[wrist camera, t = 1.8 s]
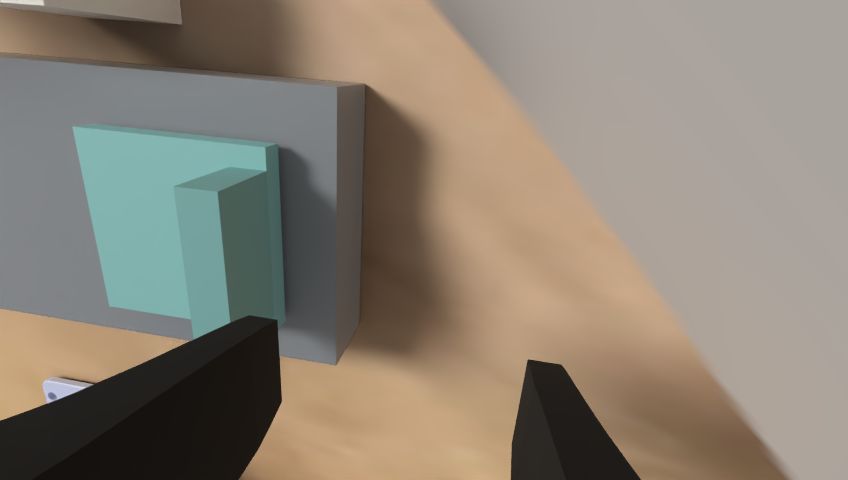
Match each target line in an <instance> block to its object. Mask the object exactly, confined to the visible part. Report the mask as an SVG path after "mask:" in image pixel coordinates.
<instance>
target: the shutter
mask: <svg viewBox="0 0 848 480" xmlns="http://www.w3.org/2000/svg"><path fill="white" fill-rule="evenodd" d="M72 128H73V133H74V137H75V142H76V147H77V152H78V157H79V162H80V166H81V171H82V176H83V181H84V186H85V191H86V195H87V200H88V205H89V210H90V215H91V220H92V224H93V229H94V234H95V239H96V244H97V249H98V253H99V258H100V263H101V268H102V273H103V278H104V282H105V287H106V292H107V297H108V302H109V306H111V307H118V308H124V309H130V310H136V311H142V312H148V313H154V314H161V315H167V316H173V317H179V318H185V319H191V323H192V331H193V338H194V339H196V338H198V337H200V336H202V335H204V334H207V333H209V332H211V331H213V330H215V329H217V328H220V327H222V326H224V325H226V324H228V323H231V322H233V321H235V320H238V319H240V318H243V317H246V316H248V315H251V316H258V317H264V318H270V319H276V320H278V330H279V328H280V327H281V326H282V325H283V324H284V323H285V321H286V318H285V295H284V273H283V250H282V227H281V205H280V182H279V160H278V143H270V142H260V141H251V140H242V139H232V138H223V137H214V136H204V135H195V134H185V133H176V132H167V131H157V130H148V129H139V128H129V127H120V126H110V125H101V124H88V125H80V126H73V127H72Z"/></svg>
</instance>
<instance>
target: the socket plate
mask: <svg viewBox="0 0 848 480" xmlns="http://www.w3.org/2000/svg"><path fill="white" fill-rule="evenodd" d="M365 85H366V84H361V83H349V82H338V81H326V80H315V79H303V78H292V77H280V76H269V75H257V74H246V73H234V72H223V71H211V70H200V69H188V68H177V67H165V66H154V65H142V64H131V63H119V62H107V61H96V60H84V59H73V58H61V57H50V56H38V55H27V54H15V53H4V52H0V309H6V310H12V311H18V312H24V313H30V314H36V315H42V316H47V317H53V318H59V319H65V320H71V321H77V322H83V323H89V324H95V325H101V326H106V327H112V328H118V329H124V330H130V331H136V332H142V333H148V334H154V335H160V336H166V337H171V338H177V339H183V340H189V341H192V340H194V338H193V331H192V323H191V319H185V318H179V317H173V316H167V315H161V314H154V313H148V312H142V311H136V310H130V309H124V308H118V307H111V306H109V302H108V297H107V292H106V287H105V282H104V278H103V273H102V268H101V263H100V258H99V253H98V249H97V244H96V239H95V234H94V229H93V224H92V220H91V215H90V210H89V205H88V200H87V195H86V191H85V186H84V181H83V176H82V171H81V166H80V162H79V157H78V152H77V147H76V142H75V137H74V133H73V128H72V127H73V126H80V125H88V124H101V125H110V126H120V127H129V128H139V129H148V130H157V131H167V132H176V133H185V134H195V135H204V136H214V137H223V138H232V139H242V140H251V141H260V142H270V143H278V160H279V182H280V205H281V227H282V250H283V273H284V295H285V318H286V321H285V323H284V324H283V325H282V326H281V327H280V328H279V330H278V339H279V356H284V357H289V358H295V359H301V360H307V361H313V362H319V363H325V364H331V365H337V363H338V361H339V359H340V358H341V356H342V354H343V352H344V350H345V349H346V347H347V345H348V343H349V342H350V340H351V338H352V336H353V335H354V333H355V331H356V329H357V328H358V326H359V324H360V284H361V244H362V205H363V165H364V125H365Z"/></svg>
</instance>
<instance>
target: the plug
mask: <svg viewBox="0 0 848 480" xmlns="http://www.w3.org/2000/svg"><path fill="white" fill-rule="evenodd" d="M0 7H4V8H12V9H20V10H28V11H37V12H45V13H53V14H61V15H69V16H77V17H85V18H98V19H112V20H125V21H139V22H153V23H166V24H180V25H182V17H181V8H180V0H0Z"/></svg>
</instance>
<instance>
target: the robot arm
mask: <svg viewBox="0 0 848 480" xmlns="http://www.w3.org/2000/svg"><path fill="white" fill-rule="evenodd" d="M43 390H44V393H45V397H46V400H47V404H45V405H42V406H40V407H37V408H34V409H32V410H29V411H26V412H24V413H21V414H18V415H15V416H12V417H10V418H7V419H4V420H1V421H0V480H239V478H240V477H241V475H242V473H243V472H244V470H245V469H246V467H247V466H248V464H249V463H250V461H251V460H252V458H253V457H254V455H255V453H256V452H257V450H258V449H259V447H260V445H261V443H262V441H263V439H264V437H265V435H266V433H267V431H268V429H269V427H270V425H271V423H272V421H273V419H274V417H275V415H276V413H277V411H278V408H279V406H280V404H281V402H282V396H281V377H280V358H279V339H278V320H276V319H270V318H264V317H258V316H251V315H248V316H246V317H243V318H240V319H238V320H235V321H233V322H231V323H228V324H226V325H224V326H222V327H220V328H217V329H215V330H213V331H211V332H209V333H207V334H204V335H202V336H200V337H198V338H196V339H194V340H192V341H190V342H187V343H185V344H183V345H181V346H179V347H177V348H175V349H172V350H170V351H168V352H166V353H164V354H162V355H160V356H157V357H155V358H153V359H151V360H149V361H147V362H145V363H142V364H140V365H138V366H136V367H133V368H131V369H129V370H126V371H124V372H122V373H119V374H117V375H115V376H112V377H110V378H108V379H105V380H103V381H101V382H98V383H96V384H89V383H84V382H79V381H73V380H68V379H63V378H57V377H50V378H48V379H47V380H45V381H44V382H43ZM511 480H641V479H640V478H639V476H638V475H637V474H636V472H635V471H634V470H633V468H632V467H631V466H630V464H629V463H628V462H627V460H626V459H625V457H624V456H623V455H622V453H621V452H620V451H619V449H618V448H617V446H616V445H615V444H614V442H613V441H612V439H611V438H610V437H609V435H608V434H607V432H606V431H605V430H604V428H603V427H602V425H601V424H600V422H599V421H598V419H597V418H596V416H595V415H594V413H593V412H592V410H591V409H590V407H589V406H588V404H587V403H586V401H585V400H584V398H583V397H582V395H581V394H580V392H579V390H578V389H577V387H576V386H575V384H574V383H573V381H572V379H571V378H570V376H569V375H568V373H567V372H566V370H565V369H564V368H563V366H562V365H560V364H553V363H547V362H541V361H535V360H528V362H527V367H526V372H525V377H524V383H523V388H522V393H521V398H520V404H519V409H518V414H517V419H516V425H515V430H514V435H513V441H512V458H511Z"/></svg>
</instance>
